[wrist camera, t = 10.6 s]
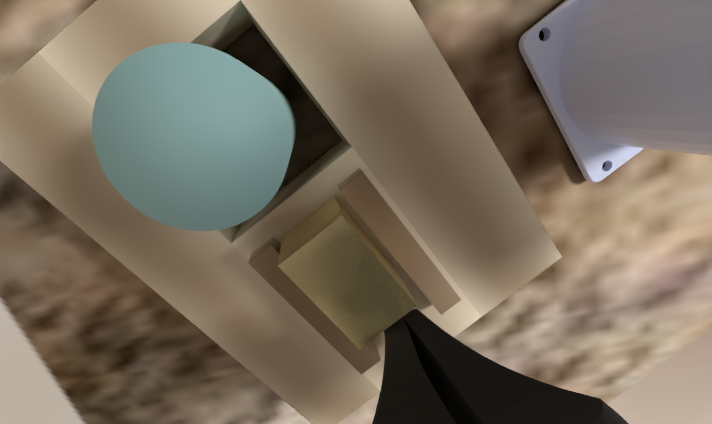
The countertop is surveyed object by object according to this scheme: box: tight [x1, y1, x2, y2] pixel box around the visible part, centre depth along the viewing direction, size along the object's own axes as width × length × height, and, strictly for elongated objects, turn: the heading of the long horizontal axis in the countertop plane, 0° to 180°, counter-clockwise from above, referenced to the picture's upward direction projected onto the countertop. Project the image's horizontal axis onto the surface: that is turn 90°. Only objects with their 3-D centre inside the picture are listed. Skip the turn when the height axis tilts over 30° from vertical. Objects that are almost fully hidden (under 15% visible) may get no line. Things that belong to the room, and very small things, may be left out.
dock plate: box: [0, 0, 561, 424], centre depth 13 cm, size 13×17×4 cm
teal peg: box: [92, 42, 297, 231], centre depth 11 cm, size 4×4×7 cm
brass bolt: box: [278, 196, 417, 349], centre depth 12 cm, size 2×4×2 cm, turn 38°
